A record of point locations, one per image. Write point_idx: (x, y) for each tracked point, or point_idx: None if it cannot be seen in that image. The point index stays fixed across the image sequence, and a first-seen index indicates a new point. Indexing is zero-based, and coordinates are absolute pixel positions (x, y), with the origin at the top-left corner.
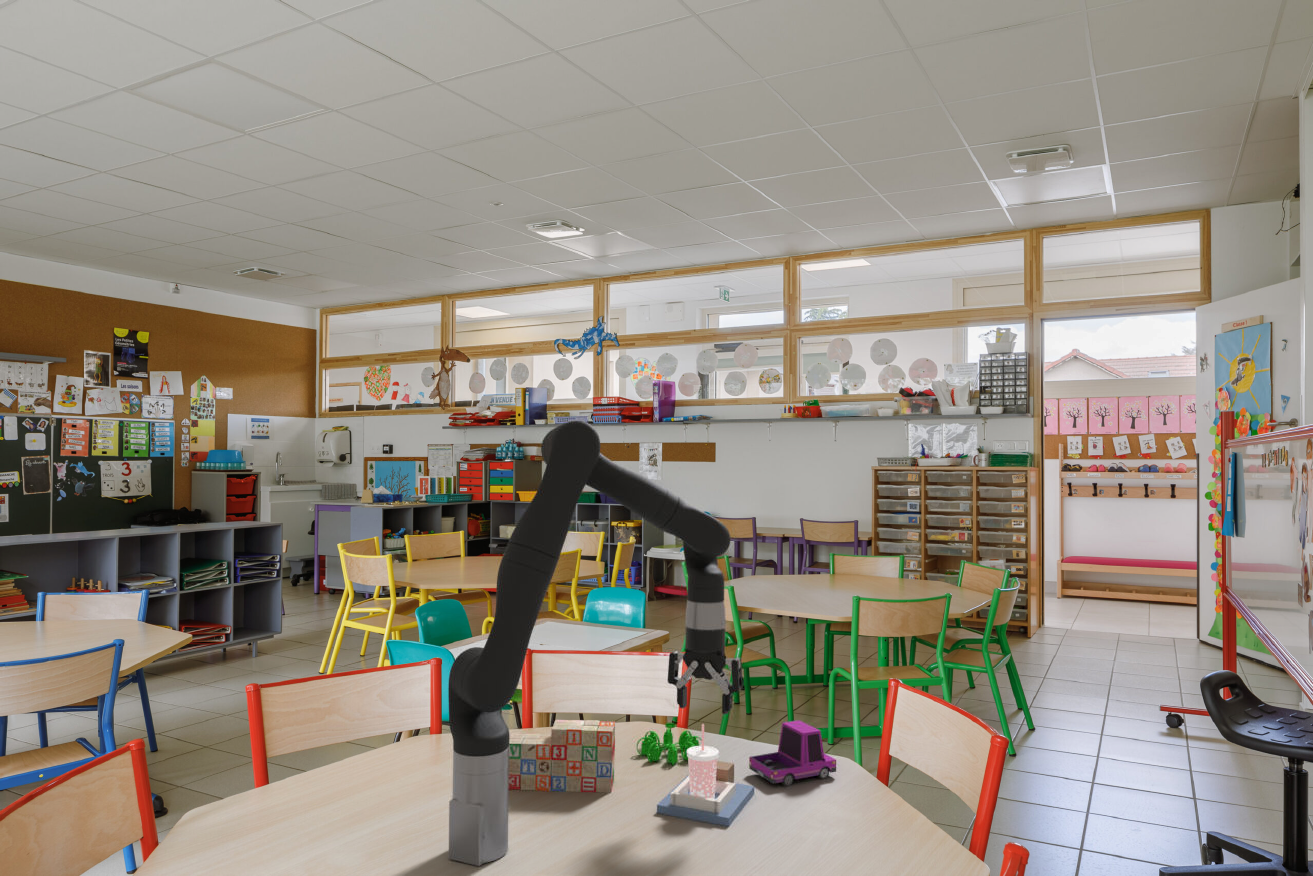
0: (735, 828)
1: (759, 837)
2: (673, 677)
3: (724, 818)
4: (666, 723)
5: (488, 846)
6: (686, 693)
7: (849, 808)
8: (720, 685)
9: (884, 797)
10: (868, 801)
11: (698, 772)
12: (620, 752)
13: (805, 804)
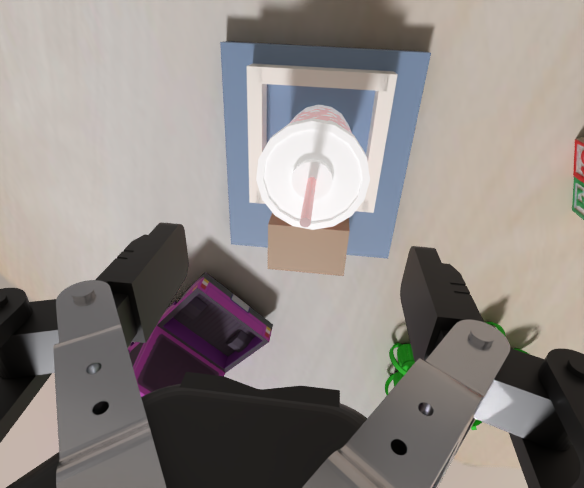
0: (208, 38)
1: (138, 7)
2: (566, 397)
3: (233, 42)
4: (481, 422)
5: None
6: (412, 335)
7: (53, 227)
8: (107, 327)
9: (28, 286)
10: (41, 264)
11: (316, 116)
12: None
13: (128, 219)
